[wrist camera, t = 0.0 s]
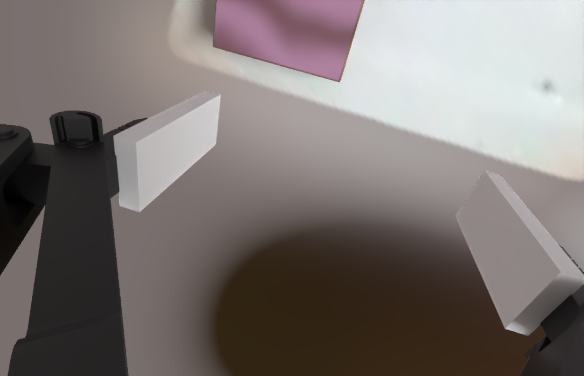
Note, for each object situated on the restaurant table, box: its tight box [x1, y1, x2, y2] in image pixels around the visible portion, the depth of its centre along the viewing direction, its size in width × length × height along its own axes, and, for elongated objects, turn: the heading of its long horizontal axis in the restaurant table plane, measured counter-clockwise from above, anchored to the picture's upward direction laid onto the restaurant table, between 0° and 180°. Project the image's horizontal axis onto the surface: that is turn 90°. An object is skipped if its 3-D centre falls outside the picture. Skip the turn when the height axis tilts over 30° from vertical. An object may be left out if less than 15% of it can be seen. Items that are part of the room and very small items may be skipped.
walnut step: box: [213, 0, 365, 82], centre depth 36 cm, size 11×16×4 cm
